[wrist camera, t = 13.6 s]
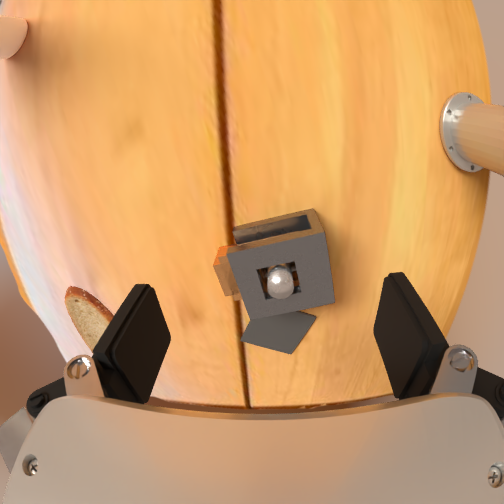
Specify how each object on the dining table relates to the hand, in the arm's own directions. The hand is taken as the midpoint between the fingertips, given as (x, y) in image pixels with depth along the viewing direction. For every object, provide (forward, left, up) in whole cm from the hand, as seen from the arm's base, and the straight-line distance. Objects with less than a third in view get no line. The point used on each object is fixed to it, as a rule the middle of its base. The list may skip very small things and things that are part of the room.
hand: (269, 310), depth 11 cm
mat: (-11, +24, -27) cm, 38 cm away
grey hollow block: (-5, +10, -27) cm, 29 cm away
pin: (-5, +10, -27) cm, 29 cm away
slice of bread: (+22, +41, -28) cm, 54 cm away
